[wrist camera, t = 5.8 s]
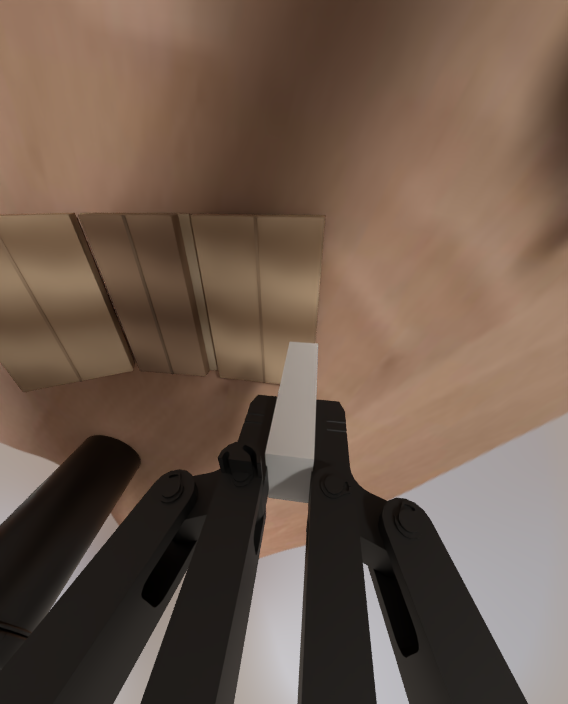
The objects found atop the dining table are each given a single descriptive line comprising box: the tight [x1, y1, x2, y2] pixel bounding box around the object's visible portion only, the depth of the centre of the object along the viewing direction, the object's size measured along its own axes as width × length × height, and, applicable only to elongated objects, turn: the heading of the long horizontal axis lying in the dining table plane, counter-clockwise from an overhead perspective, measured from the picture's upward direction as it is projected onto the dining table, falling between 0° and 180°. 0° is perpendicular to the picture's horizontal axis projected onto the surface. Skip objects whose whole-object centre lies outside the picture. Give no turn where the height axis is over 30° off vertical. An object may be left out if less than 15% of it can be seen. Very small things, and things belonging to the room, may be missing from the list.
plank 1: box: [0, 213, 135, 392], centre depth 21 cm, size 14×9×2 cm, turn 0°
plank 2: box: [191, 214, 325, 384], centre depth 21 cm, size 14×9×2 cm, turn 0°
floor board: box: [78, 213, 218, 376], centre depth 22 cm, size 14×9×2 cm, turn 0°
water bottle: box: [0, 435, 141, 671], centre depth 28 cm, size 10×10×23 cm
